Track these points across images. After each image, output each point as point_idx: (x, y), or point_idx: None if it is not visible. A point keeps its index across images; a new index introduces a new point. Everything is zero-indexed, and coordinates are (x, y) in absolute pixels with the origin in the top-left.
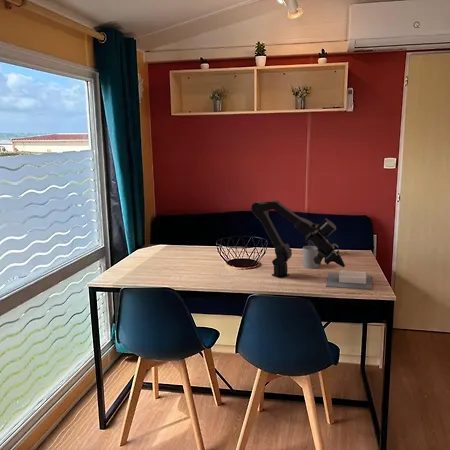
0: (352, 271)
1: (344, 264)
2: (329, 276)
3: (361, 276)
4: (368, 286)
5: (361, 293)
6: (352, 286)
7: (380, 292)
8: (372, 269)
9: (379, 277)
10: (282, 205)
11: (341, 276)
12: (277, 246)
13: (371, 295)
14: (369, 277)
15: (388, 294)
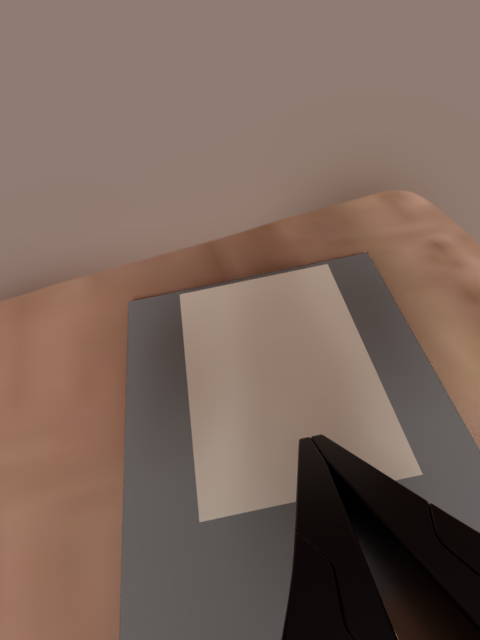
0: (197, 383)
1: (309, 445)
2: (244, 624)
3: (303, 296)
4: (344, 272)
5: (465, 287)
6: (403, 350)
7: (381, 222)
8: (3, 317)
9: (148, 263)
10: None
11: (396, 449)
12: None
13: (455, 243)
14: (178, 297)
15: (386, 195)
